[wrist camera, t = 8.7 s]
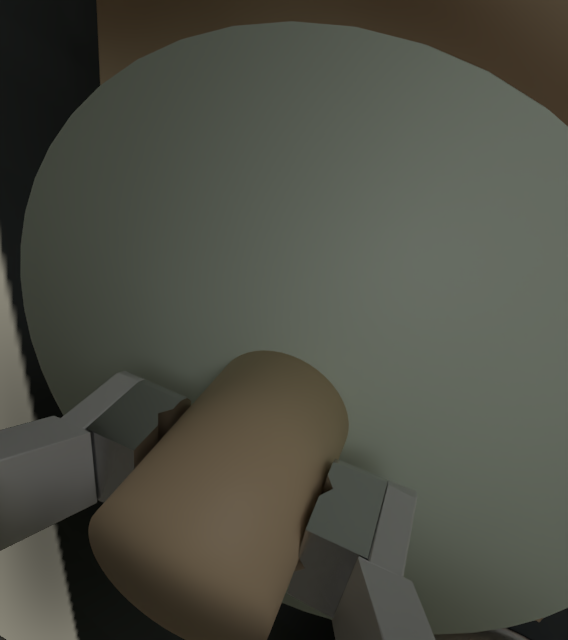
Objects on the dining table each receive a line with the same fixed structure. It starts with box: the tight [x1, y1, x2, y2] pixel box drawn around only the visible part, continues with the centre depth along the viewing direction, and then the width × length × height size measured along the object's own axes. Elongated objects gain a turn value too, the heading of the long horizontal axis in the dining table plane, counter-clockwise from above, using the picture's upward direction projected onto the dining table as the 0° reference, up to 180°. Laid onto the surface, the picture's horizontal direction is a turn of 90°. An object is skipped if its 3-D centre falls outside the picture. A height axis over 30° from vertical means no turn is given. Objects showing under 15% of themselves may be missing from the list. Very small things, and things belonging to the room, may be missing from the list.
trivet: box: [97, 0, 568, 622], centre depth 14 cm, size 18×18×1 cm
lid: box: [21, 21, 568, 640], centre depth 9 cm, size 14×14×5 cm
